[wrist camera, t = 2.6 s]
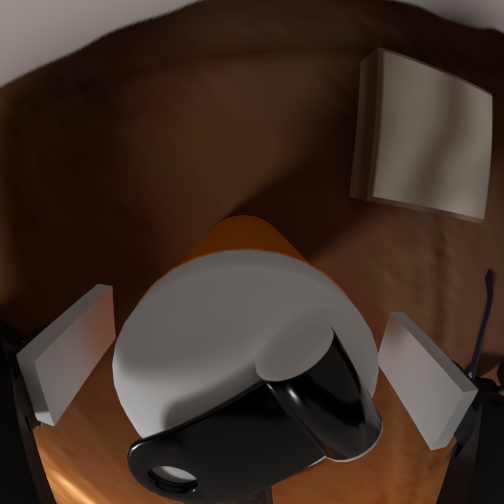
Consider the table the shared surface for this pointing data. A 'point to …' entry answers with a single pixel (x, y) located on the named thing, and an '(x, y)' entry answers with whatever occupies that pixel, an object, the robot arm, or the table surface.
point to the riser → (421, 138)
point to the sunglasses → (484, 383)
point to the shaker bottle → (244, 369)
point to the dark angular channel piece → (253, 498)
